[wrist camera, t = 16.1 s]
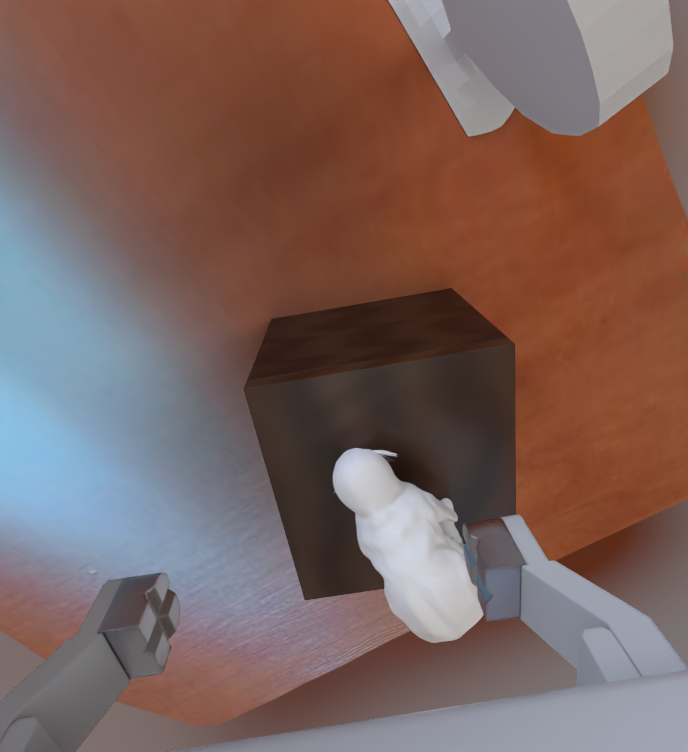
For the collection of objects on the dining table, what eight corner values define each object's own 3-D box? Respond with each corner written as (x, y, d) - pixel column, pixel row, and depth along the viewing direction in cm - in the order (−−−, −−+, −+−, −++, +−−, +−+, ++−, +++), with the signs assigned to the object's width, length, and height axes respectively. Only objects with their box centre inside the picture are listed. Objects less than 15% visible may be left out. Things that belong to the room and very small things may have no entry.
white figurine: (421, 676, 26) (292, 540, 23) (405, 567, 34) (309, 456, 31) (517, 630, 24) (394, 478, 21) (476, 528, 32) (383, 407, 29)
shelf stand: (311, 483, 49) (304, 600, 35) (271, 319, 41) (243, 388, 28) (463, 459, 48) (516, 569, 35) (452, 288, 41) (515, 343, 27)
